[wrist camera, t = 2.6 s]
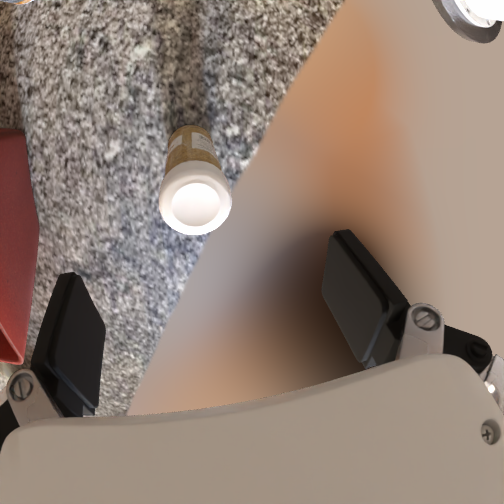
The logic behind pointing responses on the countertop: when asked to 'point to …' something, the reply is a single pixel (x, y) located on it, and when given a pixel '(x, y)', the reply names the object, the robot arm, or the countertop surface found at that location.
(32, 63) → the countertop surface
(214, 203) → the sprinkles bottle
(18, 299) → the flower pot
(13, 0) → the pill bottle
